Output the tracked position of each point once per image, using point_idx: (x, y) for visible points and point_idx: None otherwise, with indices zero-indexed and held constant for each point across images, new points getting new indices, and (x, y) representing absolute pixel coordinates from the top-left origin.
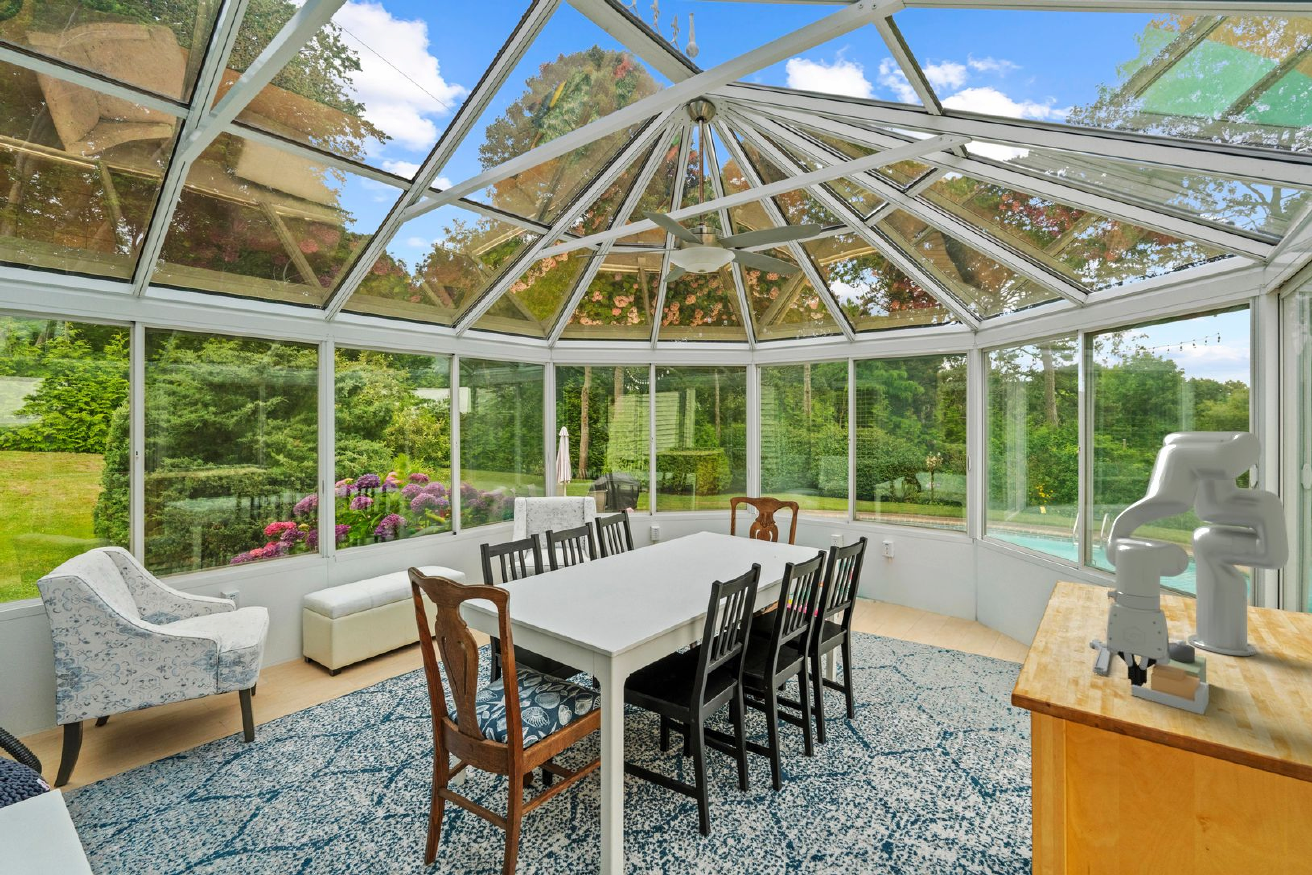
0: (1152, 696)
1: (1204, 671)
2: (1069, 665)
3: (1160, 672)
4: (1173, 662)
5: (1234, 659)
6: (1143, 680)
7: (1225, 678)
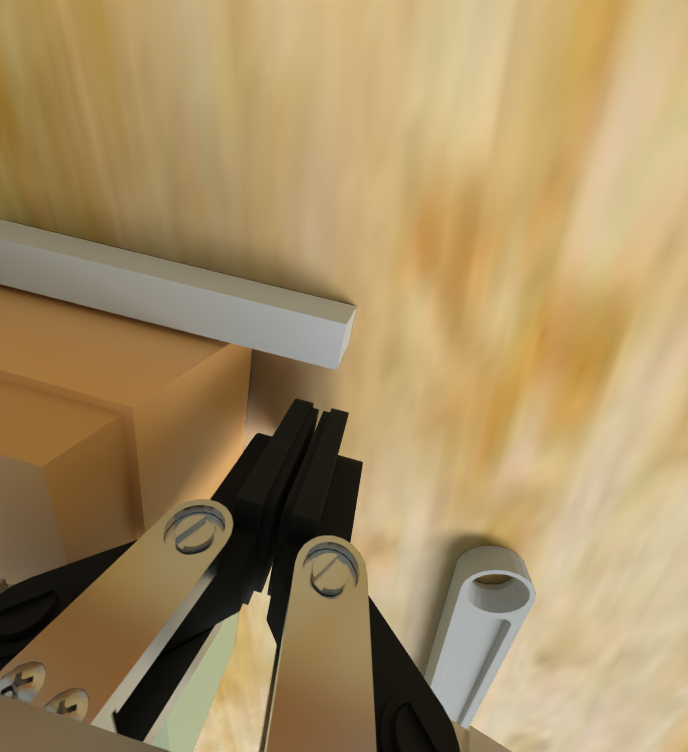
0: (227, 283)
1: None
2: (642, 611)
3: (2, 422)
4: None
5: None
6: (263, 441)
7: None
